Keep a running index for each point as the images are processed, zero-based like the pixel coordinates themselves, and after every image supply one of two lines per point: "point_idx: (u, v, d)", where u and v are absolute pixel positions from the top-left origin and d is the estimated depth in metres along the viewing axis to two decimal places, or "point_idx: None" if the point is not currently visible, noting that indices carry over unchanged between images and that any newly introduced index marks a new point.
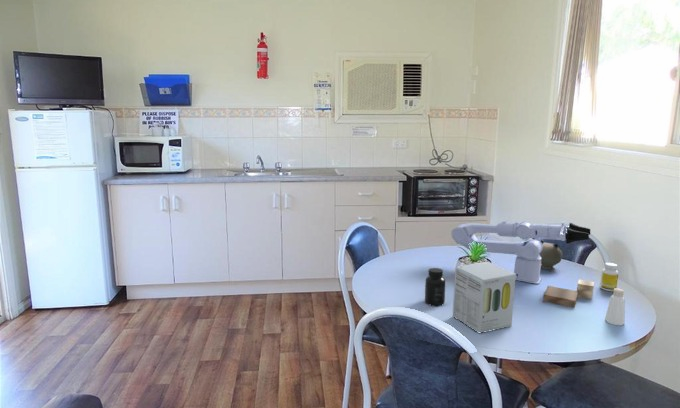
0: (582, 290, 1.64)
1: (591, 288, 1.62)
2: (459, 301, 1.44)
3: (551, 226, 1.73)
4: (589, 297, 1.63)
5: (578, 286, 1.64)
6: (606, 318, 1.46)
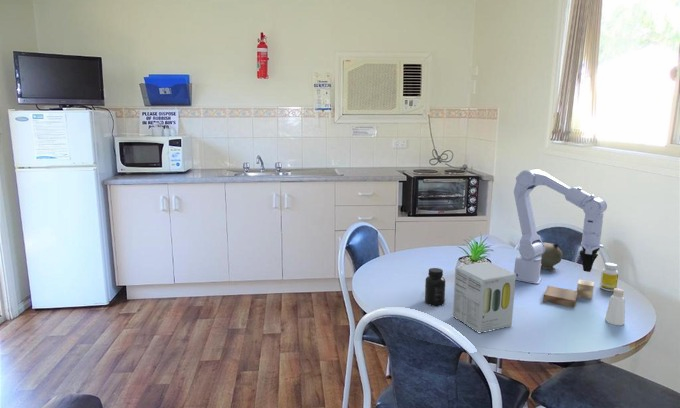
0: (582, 290, 1.64)
1: (591, 288, 1.62)
2: (459, 301, 1.44)
3: (599, 236, 1.59)
4: (589, 297, 1.63)
5: (578, 286, 1.64)
6: (606, 318, 1.46)
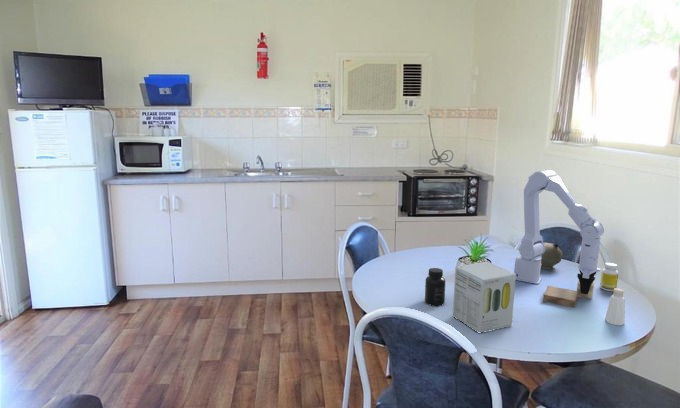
0: None
1: (591, 288, 1.62)
2: (459, 301, 1.44)
3: (596, 260, 1.61)
4: (589, 297, 1.63)
5: (578, 286, 1.64)
6: (606, 318, 1.46)
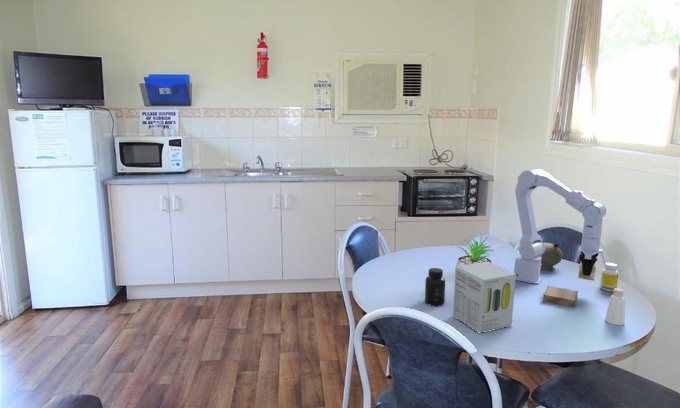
0: None
1: (593, 269, 1.61)
2: (459, 301, 1.44)
3: (598, 241, 1.60)
4: (591, 278, 1.62)
5: (580, 267, 1.63)
6: (606, 318, 1.46)
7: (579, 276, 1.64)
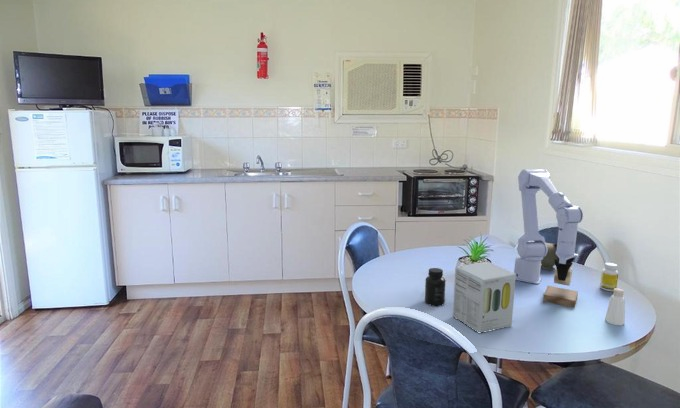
0: None
1: (568, 274, 1.57)
2: (459, 301, 1.44)
3: (573, 245, 1.56)
4: (567, 283, 1.58)
5: (555, 272, 1.59)
6: (606, 318, 1.46)
7: (554, 281, 1.60)
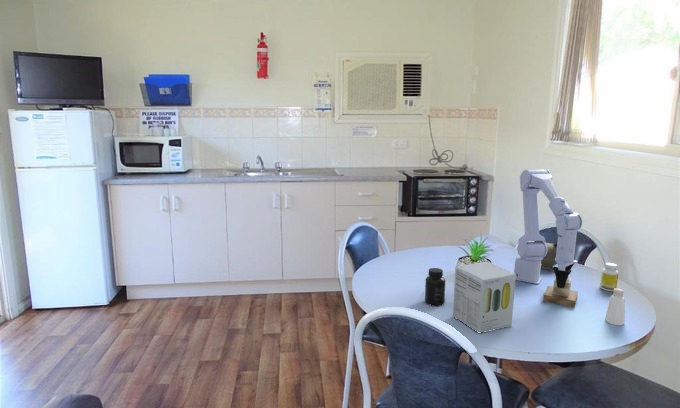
0: None
1: (567, 286, 1.58)
2: (459, 301, 1.44)
3: (573, 252, 1.56)
4: (566, 295, 1.59)
5: (555, 283, 1.60)
6: (606, 318, 1.46)
7: (553, 292, 1.61)
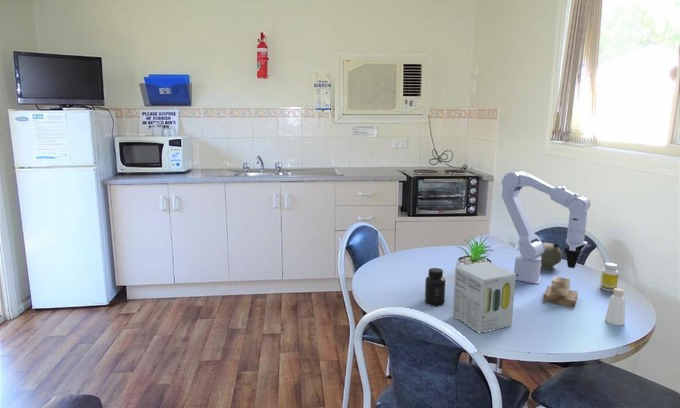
0: (557, 287, 1.60)
1: (565, 285, 1.58)
2: (459, 301, 1.44)
3: (583, 233, 1.64)
4: (563, 295, 1.59)
5: (552, 283, 1.60)
6: (606, 318, 1.46)
7: (551, 292, 1.61)
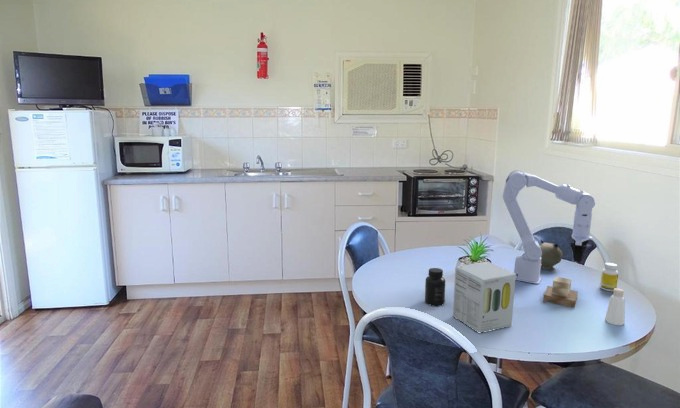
0: (558, 287, 1.59)
1: (566, 286, 1.57)
2: (459, 301, 1.44)
3: (588, 228, 1.70)
4: (564, 295, 1.58)
5: (553, 283, 1.60)
6: (606, 318, 1.46)
7: (552, 292, 1.61)
